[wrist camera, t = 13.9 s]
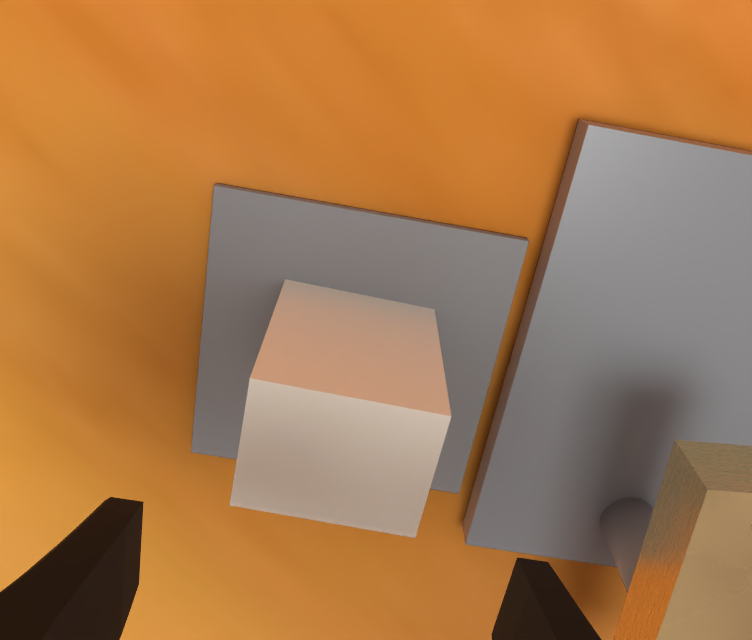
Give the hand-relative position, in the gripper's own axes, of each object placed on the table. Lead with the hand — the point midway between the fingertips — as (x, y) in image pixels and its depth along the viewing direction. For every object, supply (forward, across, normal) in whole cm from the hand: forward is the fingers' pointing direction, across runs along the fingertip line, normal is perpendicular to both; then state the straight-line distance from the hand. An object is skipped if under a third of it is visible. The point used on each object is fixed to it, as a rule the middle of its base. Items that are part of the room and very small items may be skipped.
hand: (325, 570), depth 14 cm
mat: (+9, 0, 0) cm, 9 cm away
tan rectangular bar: (+5, -10, +4) cm, 12 cm away
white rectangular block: (+6, 0, -2) cm, 6 cm away
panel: (+9, -10, -1) cm, 14 cm away
